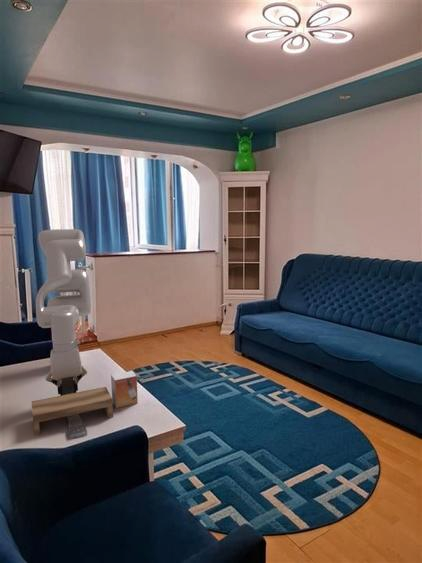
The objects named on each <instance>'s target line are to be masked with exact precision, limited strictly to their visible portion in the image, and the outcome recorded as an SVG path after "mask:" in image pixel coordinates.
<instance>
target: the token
mask: <svg viewBox="0 0 422 563" xmlns="http://www.w3.org/2000/svg"><path fill="white" fill-rule="evenodd" d="M67 431H68V437H69V440H73V439H77V438H80V437H86V436H87V435H88V430H87V426H86V424H85V423H82V424H79V425H75V426H67Z"/></svg>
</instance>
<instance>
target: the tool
mask: <svg viewBox="0 0 422 563" xmlns="http://www.w3.org/2000/svg"><path fill="white" fill-rule="evenodd" d="M61 385H62V394H63V395H67V394H72V393H75V392H74V378H73V376H72V377H66V378H61ZM66 418H67V422H68V425H69V426H68V427H70V426H75V425H79V424H83V423H82V419H81V416H80V413H78V414H73V415H69V416H66Z"/></svg>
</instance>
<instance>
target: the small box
mask: <svg viewBox="0 0 422 563" xmlns="http://www.w3.org/2000/svg"><path fill="white" fill-rule="evenodd" d="M137 377H138V376H137V375H136V374H135V372H134V371H133V370H129V371H124V372H120V373H114V374H113V373H112V374H110V378H111V379H110V380H111V381H110V383H111V384H110V385H111V398H112V405H114V407H115V408H116V409H117V408H122V407H126V406H131V405H132V406H133V405H136V404H138V378H137Z"/></svg>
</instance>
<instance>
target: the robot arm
mask: <svg viewBox="0 0 422 563" xmlns="http://www.w3.org/2000/svg"><path fill="white" fill-rule="evenodd" d="M37 236H38V237H37V240H38V243H39V247H40V248H41V250H42V252H43V254H44V256H45V260H46V262H45V263H46V275H47V277H46V281H45V282H44V283H43V284H42V286H41V287H40V288H39V290H38V292H37V294H36V298H35V315H36V323H37V325H38V326H39V328H40V327H41V328H42V329H48V328H49V329H51V340H52V349H51V350H50V356H49V357H50V359H49V360H50V365H49V366H50V369H49V372H48V373H47V375H46V377H45V381H47V382H49V383H52V384H53V385H55V386H56V387H57V395H59V396H62V395H63V394H62V385H61V378H66V377H72V376H73V379H74V392H75V393H77V392H79V386H78V384H79V382H80V381H81V379H82V378H83V377H85V376H86V375H87V374H88V371H87V369H86V368H85V367H84V366H83V365H82V359H81V356H80V355H81V354H80V350H79V346H78V345H80V344H81V340H77V337H76V326H75V325H76V324H77V322H78V320H79V318H80V317H85V316H88V315H89V314H91V312H92V301H91V299H92V298H91V288H90V279H89V275H88V273H87V271H86V270H84V269H72V268H71V267H72V266H71V262H79V261H80V262H81V261H84V260H85V259H86V256H87V247H86V246H87V245H86V240H85V236H84V232H83V231H82V230H81V229H78V228H69V229H67V228H65V229H63V228H62V229H61V228H60V229H45V230H41V231H40V232H39V233H38V235H37ZM52 292H53V293H57V294H58V293H61V294H62V293H63V294H64V293H76V292H77V293H78V294H68V295H67V294H66V295H57V296H53V297H51V298H50V299H48V301H47V306H45V299H46V297H47V296H48V295H49V294H50V293H52Z"/></svg>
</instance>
